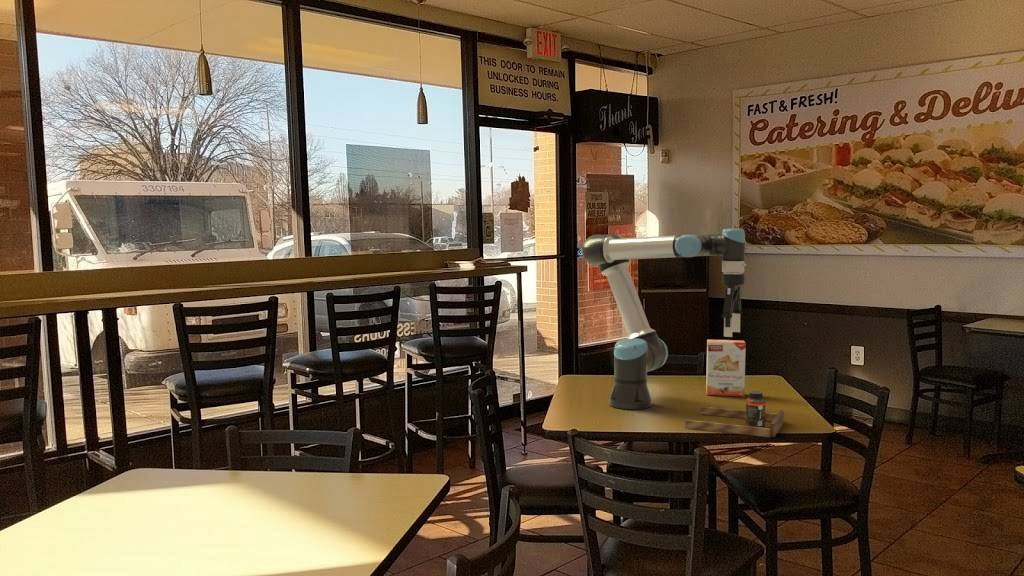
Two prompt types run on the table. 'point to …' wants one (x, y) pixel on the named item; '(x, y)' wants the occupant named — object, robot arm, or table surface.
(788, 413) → the table surface
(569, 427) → the table surface
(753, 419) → the supplement bottle
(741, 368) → the cracker box
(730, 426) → the bay
